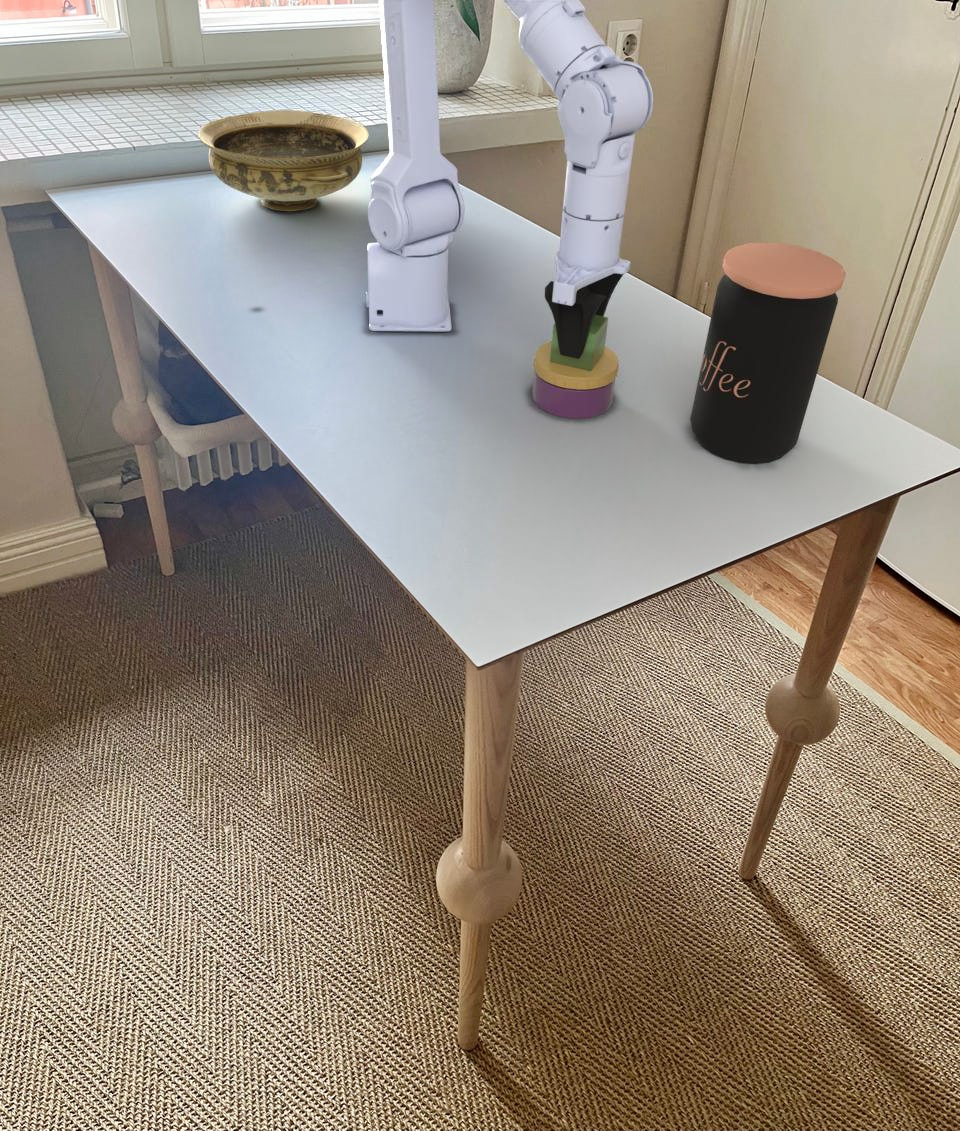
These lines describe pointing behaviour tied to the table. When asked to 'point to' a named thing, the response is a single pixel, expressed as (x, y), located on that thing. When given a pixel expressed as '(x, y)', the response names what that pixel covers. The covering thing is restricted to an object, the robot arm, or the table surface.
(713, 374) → the coffee jar
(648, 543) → the table surface
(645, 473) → the table surface
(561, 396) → the jar
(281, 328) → the table surface
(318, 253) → the table surface
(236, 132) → the ceramic bowl
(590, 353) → the block
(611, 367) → the lid
